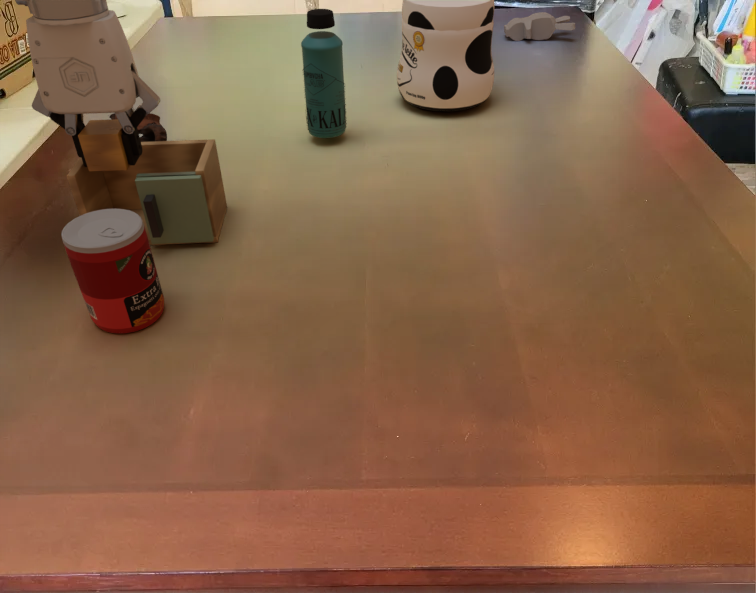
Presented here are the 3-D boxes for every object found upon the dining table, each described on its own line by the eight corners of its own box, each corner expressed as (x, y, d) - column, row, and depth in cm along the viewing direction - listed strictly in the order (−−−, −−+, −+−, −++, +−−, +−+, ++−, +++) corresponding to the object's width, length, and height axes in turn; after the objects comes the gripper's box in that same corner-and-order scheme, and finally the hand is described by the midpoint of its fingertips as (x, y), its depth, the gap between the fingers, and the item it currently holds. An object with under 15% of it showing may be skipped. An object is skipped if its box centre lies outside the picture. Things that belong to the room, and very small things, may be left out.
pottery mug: (94, 167, 102) (91, 113, 101) (144, 171, 110) (141, 121, 109) (145, 163, 96) (142, 105, 95) (194, 167, 104) (192, 114, 103)
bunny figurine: (502, 14, 152) (568, 5, 150) (502, 37, 155) (567, 28, 153) (507, 25, 144) (577, 16, 143) (508, 49, 147) (576, 40, 146)
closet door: (148, 251, 80) (130, 187, 75) (153, 241, 82) (136, 177, 77) (211, 248, 80) (197, 184, 75) (214, 238, 82) (201, 174, 77)
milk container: (377, 100, 121) (375, -4, 110) (443, 78, 130) (447, -21, 119) (444, 128, 110) (449, 15, 100) (511, 101, 119) (523, -5, 108)
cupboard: (90, 247, 83) (65, 175, 77) (110, 212, 90) (89, 143, 84) (217, 242, 83) (203, 170, 77) (227, 207, 90) (215, 139, 84)
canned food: (147, 339, 68) (120, 250, 62) (77, 331, 70) (43, 244, 63) (178, 295, 74) (156, 210, 68) (113, 289, 76) (85, 205, 69)
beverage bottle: (314, 130, 111) (303, 3, 99) (352, 132, 110) (346, 5, 98) (302, 146, 106) (290, 15, 94) (342, 149, 105) (335, 16, 92)
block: (88, 171, 78) (77, 135, 76) (100, 155, 82) (89, 119, 79) (127, 170, 78) (117, 134, 76) (137, 153, 82) (128, 118, 79)
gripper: (-30, 13, 66) (31, 177, 77) (140, 8, 66) (176, 173, 77) (1, -5, 72) (53, 150, 83) (157, -9, 72) (188, 146, 83)
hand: (112, 159), depth 80 cm, fingers closed on block, 4 cm apart
